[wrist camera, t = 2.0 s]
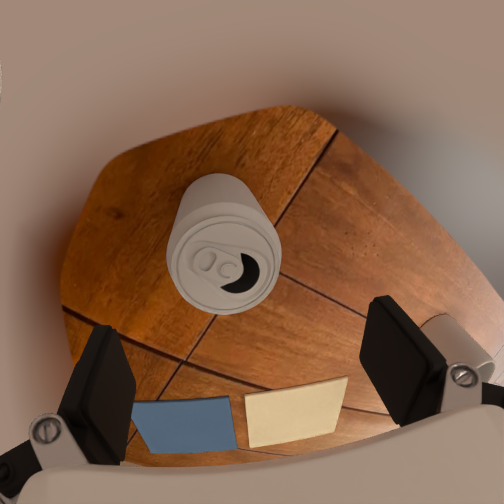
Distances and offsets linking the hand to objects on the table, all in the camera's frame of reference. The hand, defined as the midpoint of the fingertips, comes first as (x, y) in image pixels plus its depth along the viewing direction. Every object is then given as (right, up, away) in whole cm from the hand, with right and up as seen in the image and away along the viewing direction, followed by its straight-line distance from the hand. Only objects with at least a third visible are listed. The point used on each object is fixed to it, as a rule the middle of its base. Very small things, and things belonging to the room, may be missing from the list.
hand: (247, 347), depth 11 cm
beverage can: (-3, +7, +16) cm, 18 cm away
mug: (+28, -10, +28) cm, 41 cm away
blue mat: (-9, -22, +28) cm, 37 cm away
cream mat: (+6, -20, +29) cm, 36 cm away
